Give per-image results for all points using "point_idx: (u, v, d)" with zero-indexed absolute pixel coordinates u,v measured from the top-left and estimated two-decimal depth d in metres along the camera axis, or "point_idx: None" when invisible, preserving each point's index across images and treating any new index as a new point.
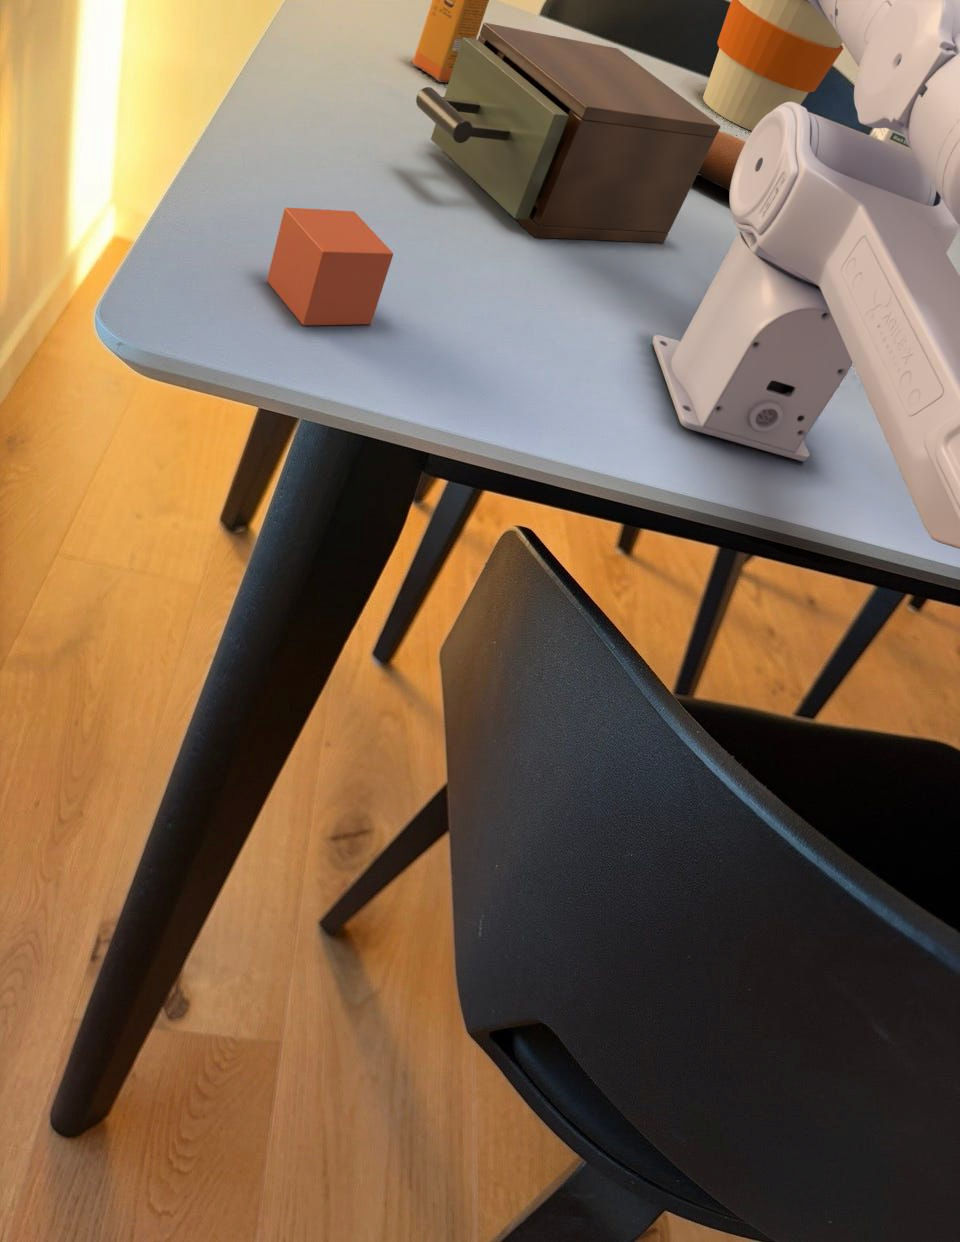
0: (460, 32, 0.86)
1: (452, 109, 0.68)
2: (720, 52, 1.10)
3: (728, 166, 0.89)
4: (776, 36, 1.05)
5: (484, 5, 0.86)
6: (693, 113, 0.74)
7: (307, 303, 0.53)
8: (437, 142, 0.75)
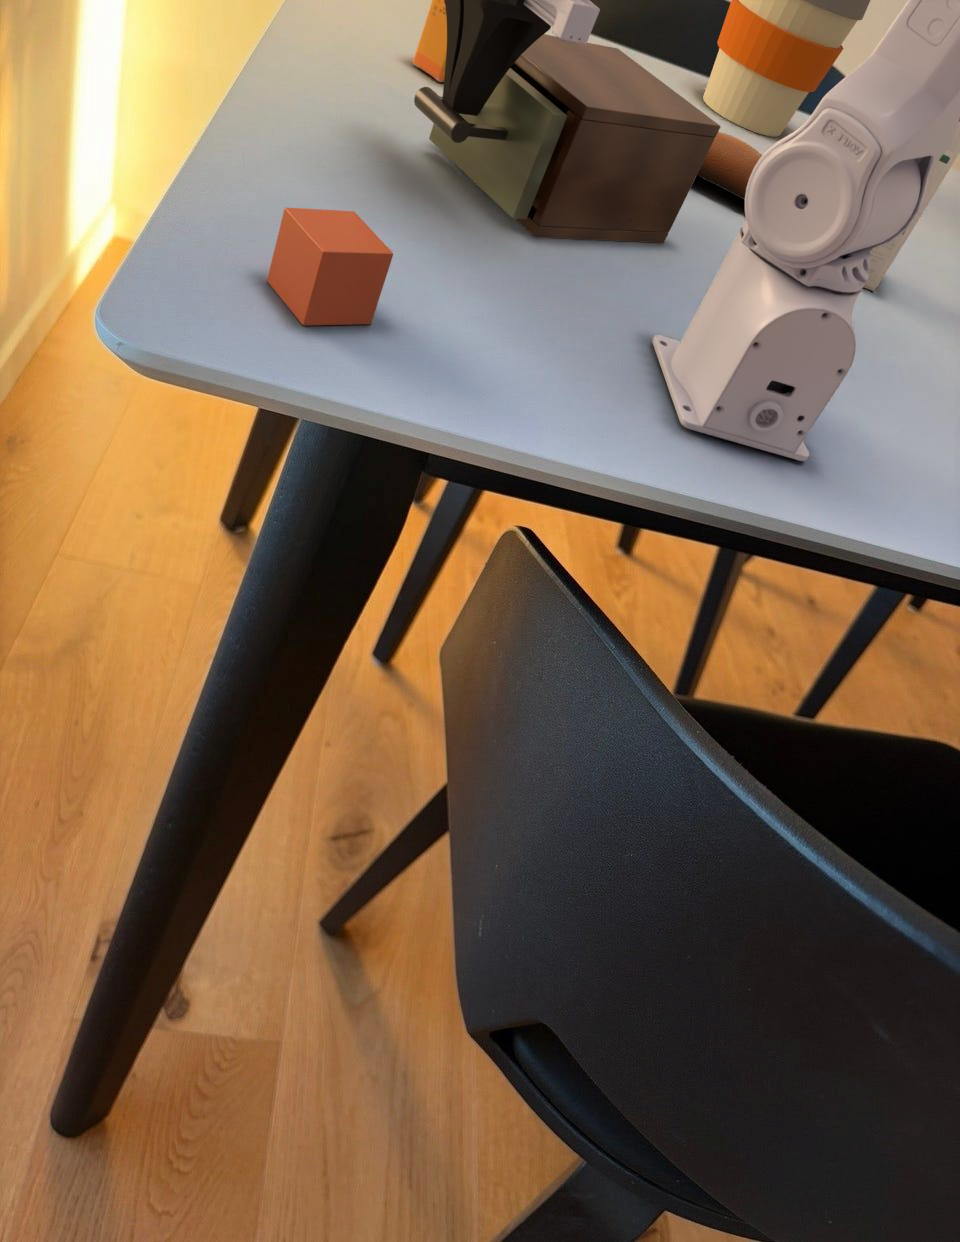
0: None
1: (450, 108, 0.67)
2: (720, 52, 1.10)
3: (728, 167, 0.89)
4: (776, 36, 1.05)
5: None
6: (693, 113, 0.74)
7: (307, 303, 0.53)
8: (435, 142, 0.75)
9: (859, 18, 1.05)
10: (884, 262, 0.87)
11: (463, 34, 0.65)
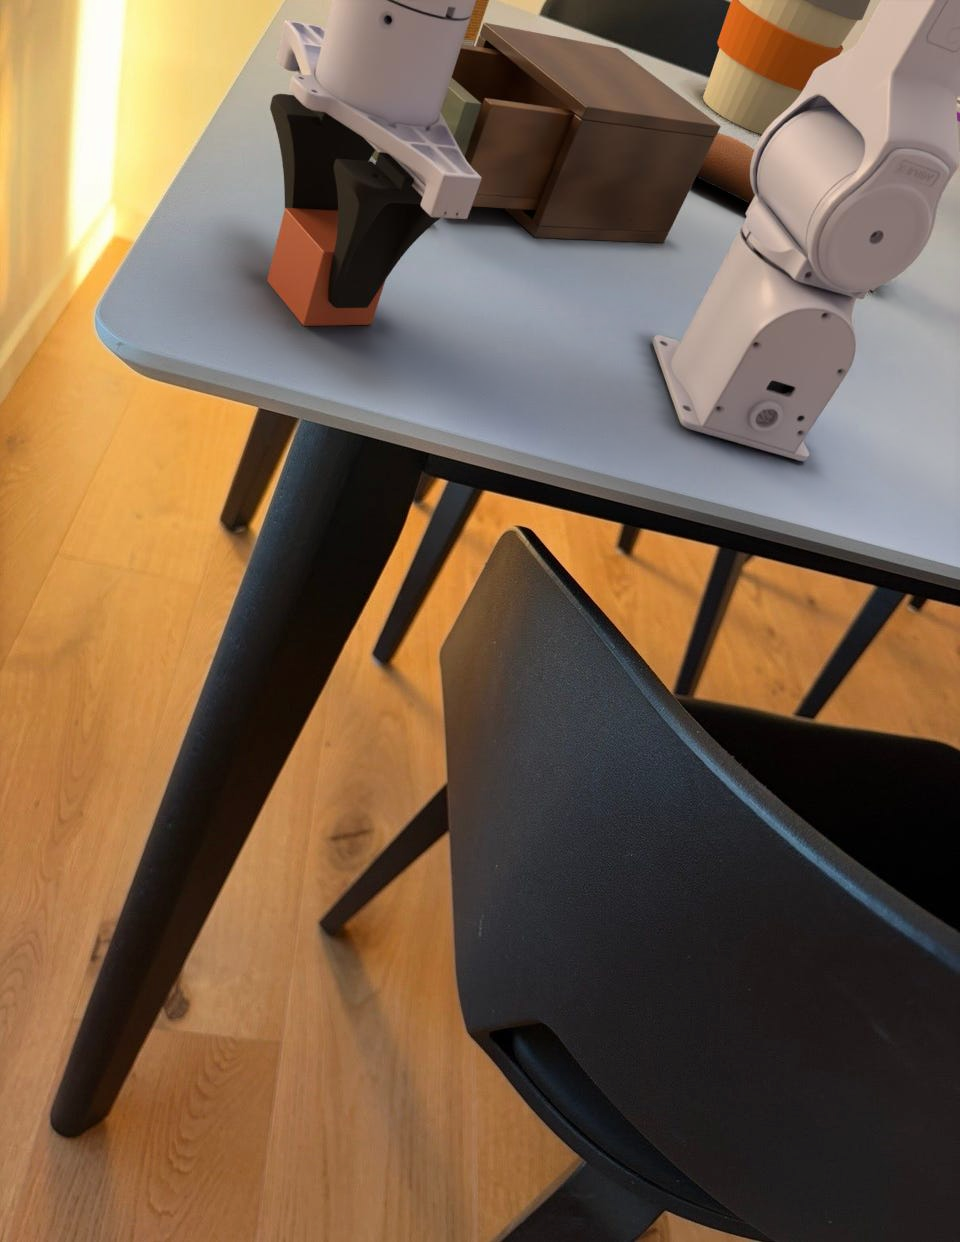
0: None
1: None
2: (720, 52, 1.10)
3: (729, 168, 0.89)
4: (776, 36, 1.05)
5: (484, 5, 0.86)
6: (693, 113, 0.74)
7: (307, 303, 0.53)
8: None
9: (859, 18, 1.05)
10: None
11: (339, 218, 0.50)
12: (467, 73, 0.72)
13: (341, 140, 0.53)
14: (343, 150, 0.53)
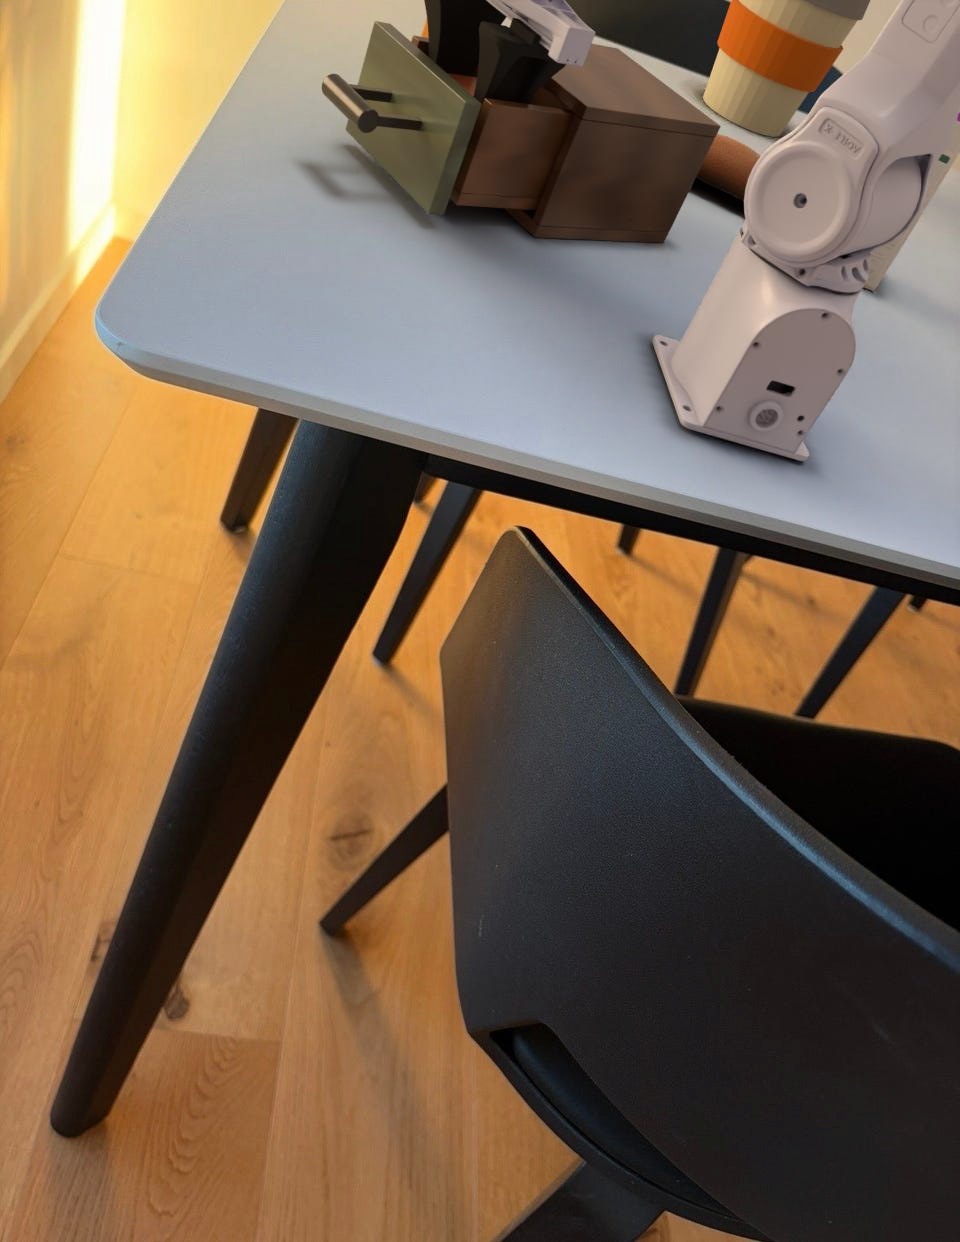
0: None
1: (357, 96, 0.63)
2: (720, 52, 1.10)
3: (729, 170, 0.89)
4: (776, 36, 1.05)
5: None
6: (693, 113, 0.74)
7: None
8: (352, 133, 0.71)
9: (859, 18, 1.05)
10: (884, 262, 0.87)
11: (479, 72, 0.65)
12: None
13: (475, 16, 0.67)
14: (476, 25, 0.68)
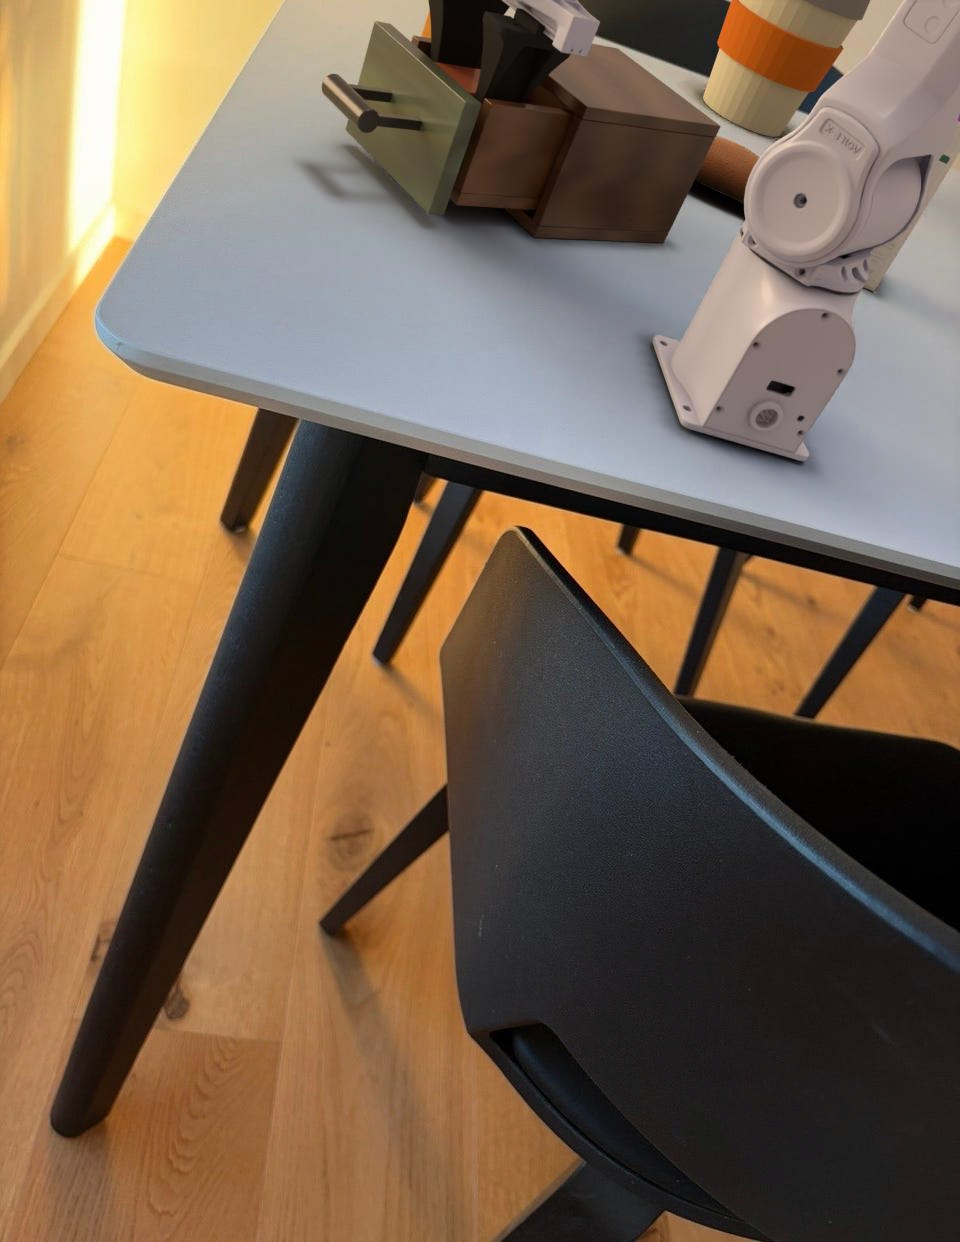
0: None
1: (357, 96, 0.63)
2: (720, 52, 1.10)
3: (731, 173, 0.88)
4: (776, 36, 1.05)
5: None
6: (693, 113, 0.74)
7: None
8: (352, 133, 0.71)
9: (859, 18, 1.05)
10: (884, 262, 0.87)
11: (482, 63, 0.65)
12: None
13: (478, 6, 0.67)
14: (479, 15, 0.67)
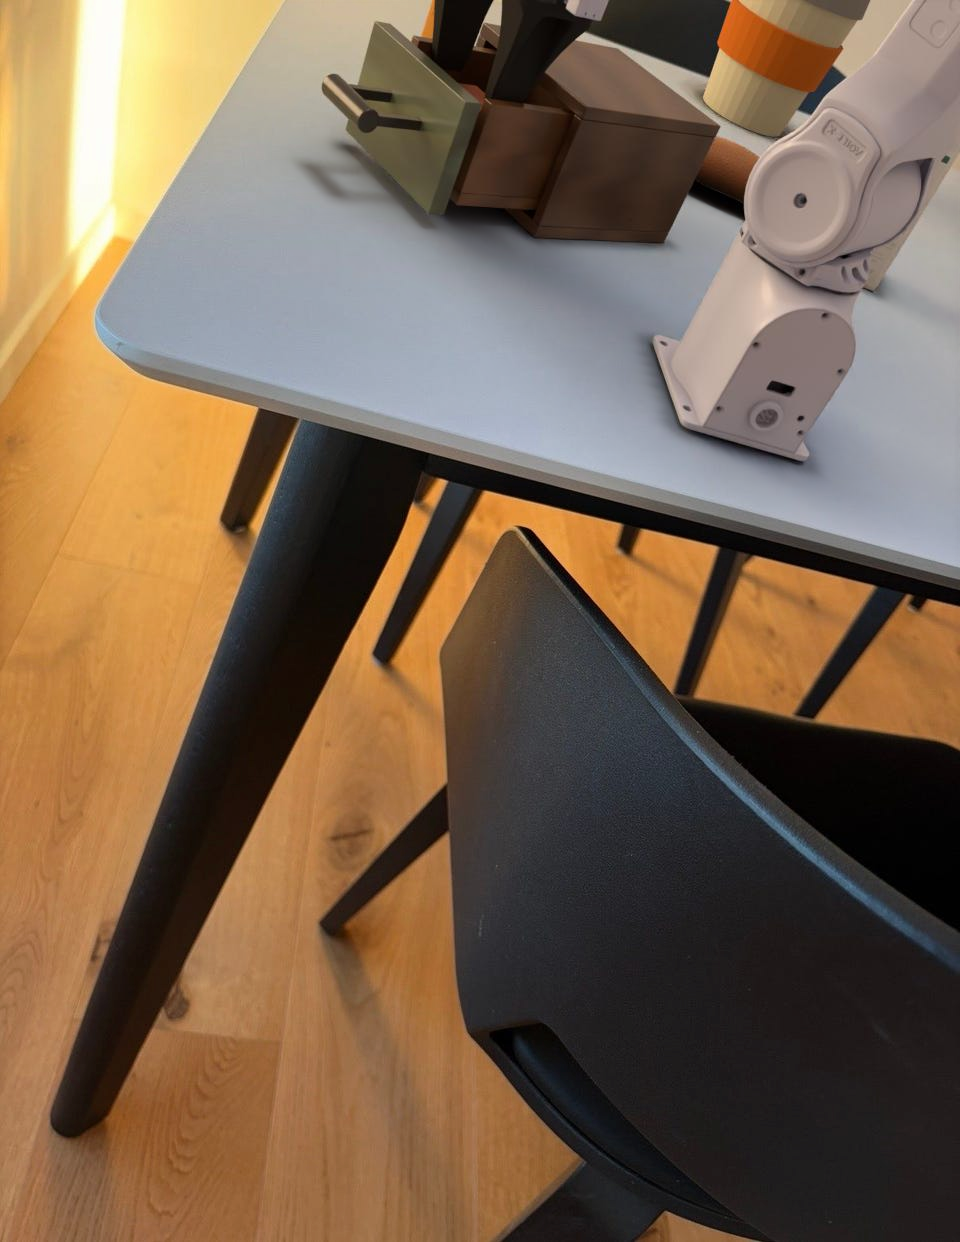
0: None
1: (357, 96, 0.63)
2: (720, 52, 1.10)
3: (731, 173, 0.88)
4: (776, 36, 1.05)
5: None
6: (693, 113, 0.74)
7: None
8: (352, 133, 0.71)
9: (859, 18, 1.05)
10: (884, 262, 0.87)
11: (500, 34, 0.63)
12: (467, 73, 0.72)
13: None
14: None
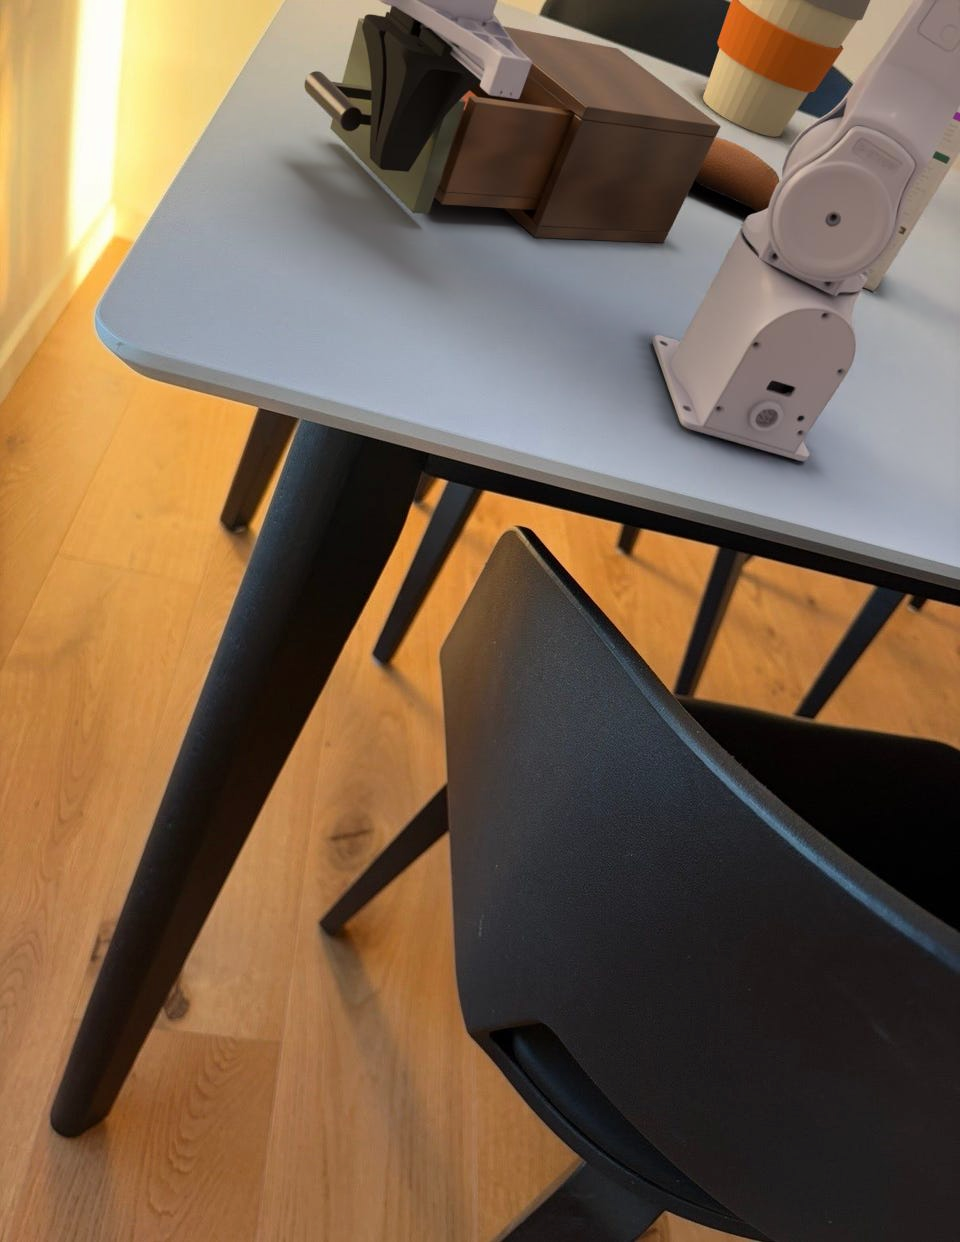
0: None
1: (340, 94, 0.63)
2: (720, 52, 1.10)
3: (732, 175, 0.88)
4: (776, 36, 1.05)
5: None
6: (693, 113, 0.74)
7: None
8: (336, 131, 0.70)
9: (859, 18, 1.05)
10: (884, 262, 0.87)
11: (387, 86, 0.59)
12: None
13: None
14: None
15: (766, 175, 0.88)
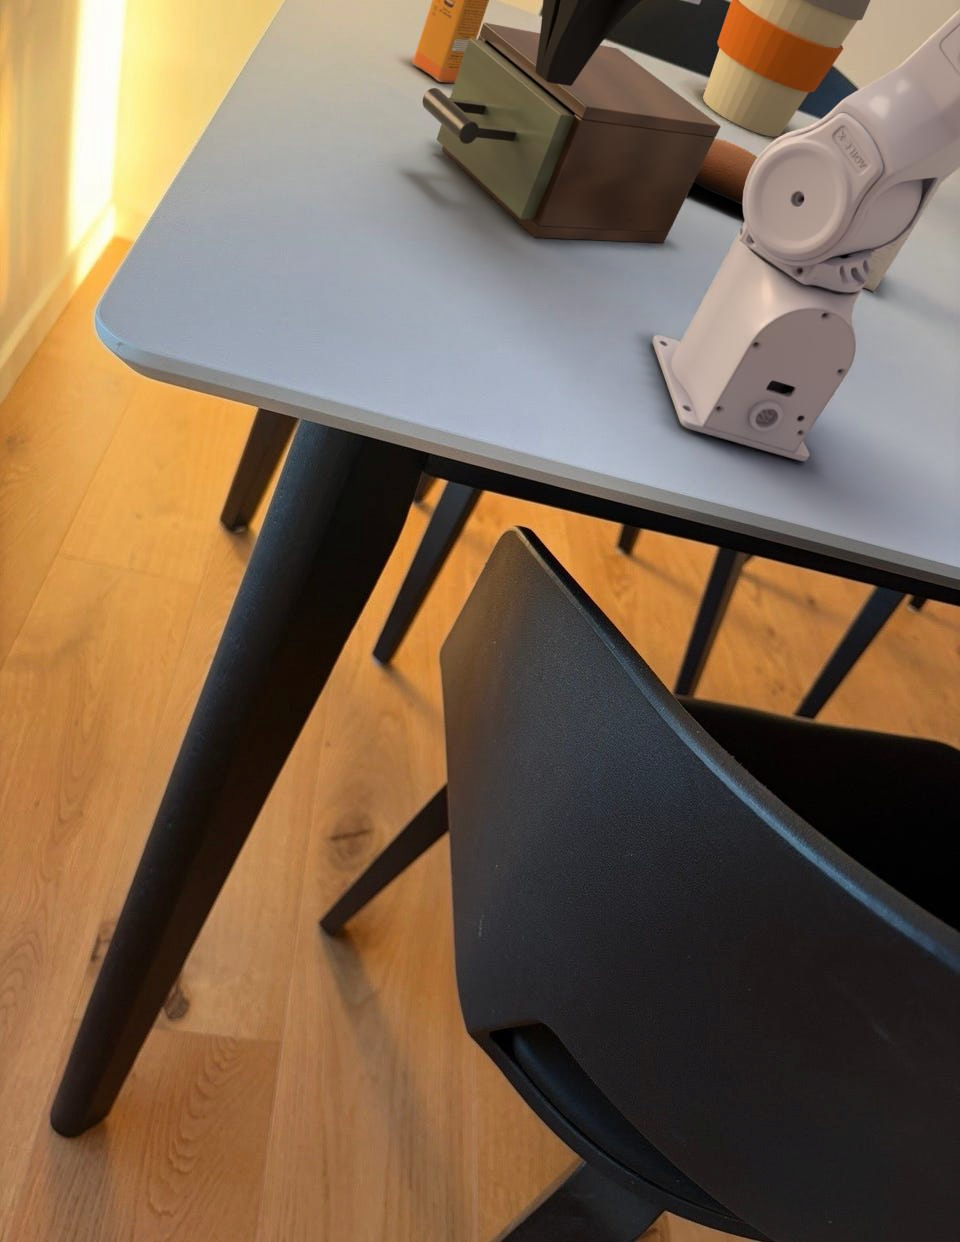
0: (460, 32, 0.86)
1: (458, 109, 0.68)
2: (720, 52, 1.10)
3: (733, 176, 0.88)
4: (776, 36, 1.05)
5: (484, 5, 0.86)
6: (693, 113, 0.74)
7: None
8: (443, 143, 0.75)
9: (859, 18, 1.05)
10: (884, 262, 0.87)
11: None
12: None
13: None
14: None
15: None
